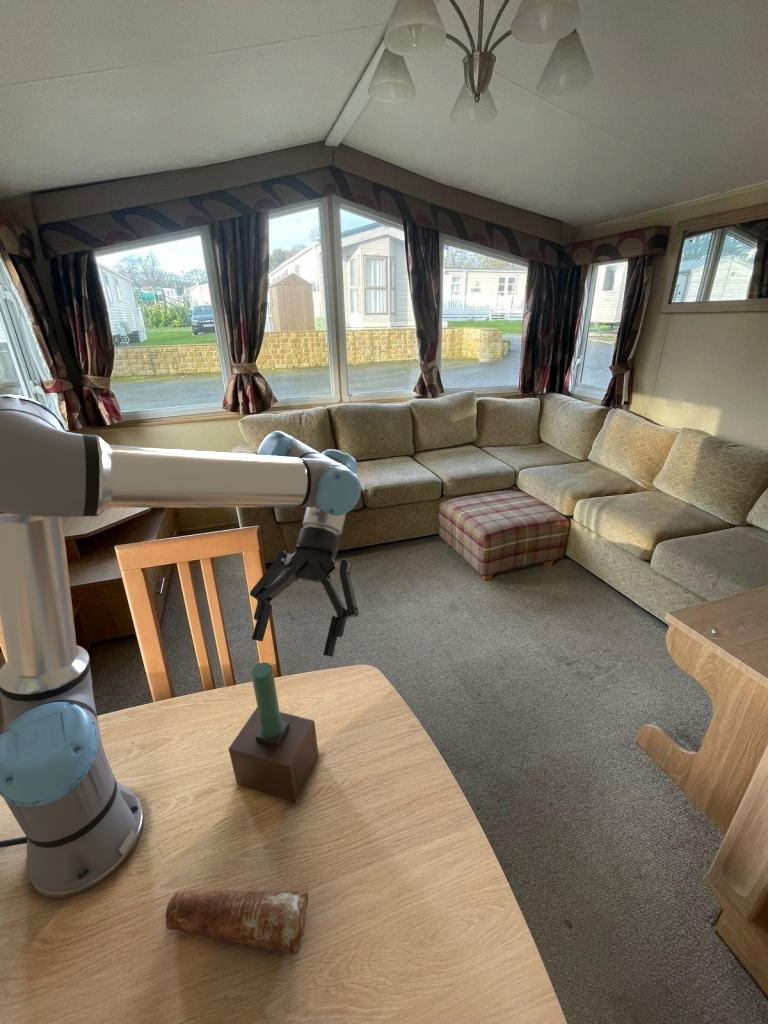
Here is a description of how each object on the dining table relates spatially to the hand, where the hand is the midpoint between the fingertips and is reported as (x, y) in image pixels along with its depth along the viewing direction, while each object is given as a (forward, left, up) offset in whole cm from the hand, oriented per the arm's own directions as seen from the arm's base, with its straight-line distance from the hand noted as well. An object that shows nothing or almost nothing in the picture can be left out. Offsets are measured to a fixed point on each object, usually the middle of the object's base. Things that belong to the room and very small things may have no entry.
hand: (291, 648), depth 83 cm
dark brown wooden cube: (0, -9, -19) cm, 21 cm away
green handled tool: (0, -9, -10) cm, 14 cm away
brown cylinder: (+6, -31, -20) cm, 37 cm away
